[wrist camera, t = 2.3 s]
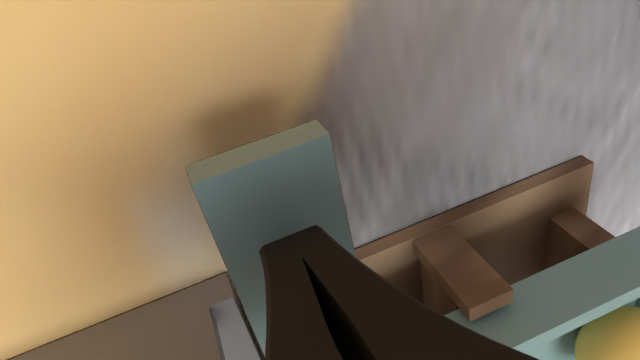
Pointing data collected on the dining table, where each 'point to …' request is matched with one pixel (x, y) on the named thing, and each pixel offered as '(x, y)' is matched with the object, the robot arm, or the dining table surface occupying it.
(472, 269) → the base
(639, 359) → the ball
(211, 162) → the lever
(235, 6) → the dining table surface
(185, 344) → the tray
